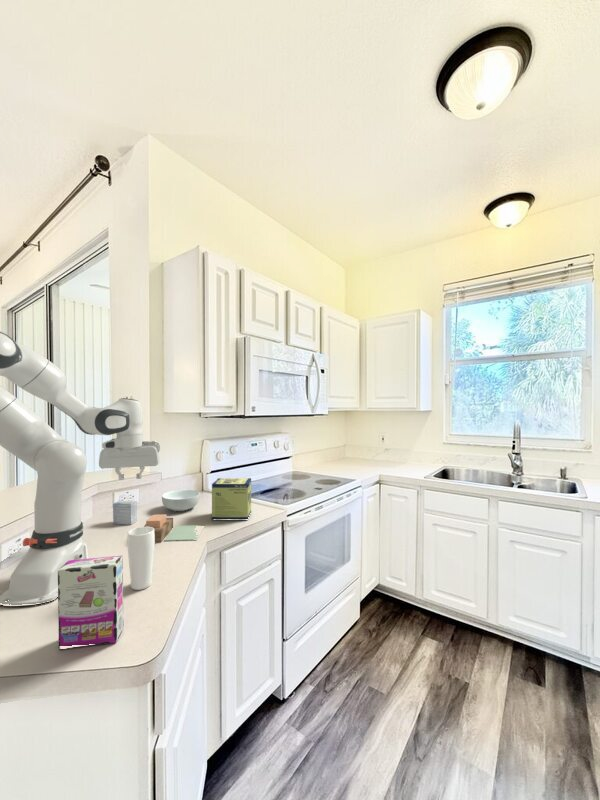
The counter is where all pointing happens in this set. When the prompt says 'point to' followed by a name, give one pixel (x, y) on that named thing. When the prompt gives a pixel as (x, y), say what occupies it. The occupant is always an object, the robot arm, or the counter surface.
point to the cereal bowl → (180, 499)
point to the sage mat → (182, 533)
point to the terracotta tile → (156, 521)
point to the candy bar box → (90, 601)
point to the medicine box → (125, 512)
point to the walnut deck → (163, 530)
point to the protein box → (231, 498)
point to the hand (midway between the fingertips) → (130, 479)
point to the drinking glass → (141, 556)
